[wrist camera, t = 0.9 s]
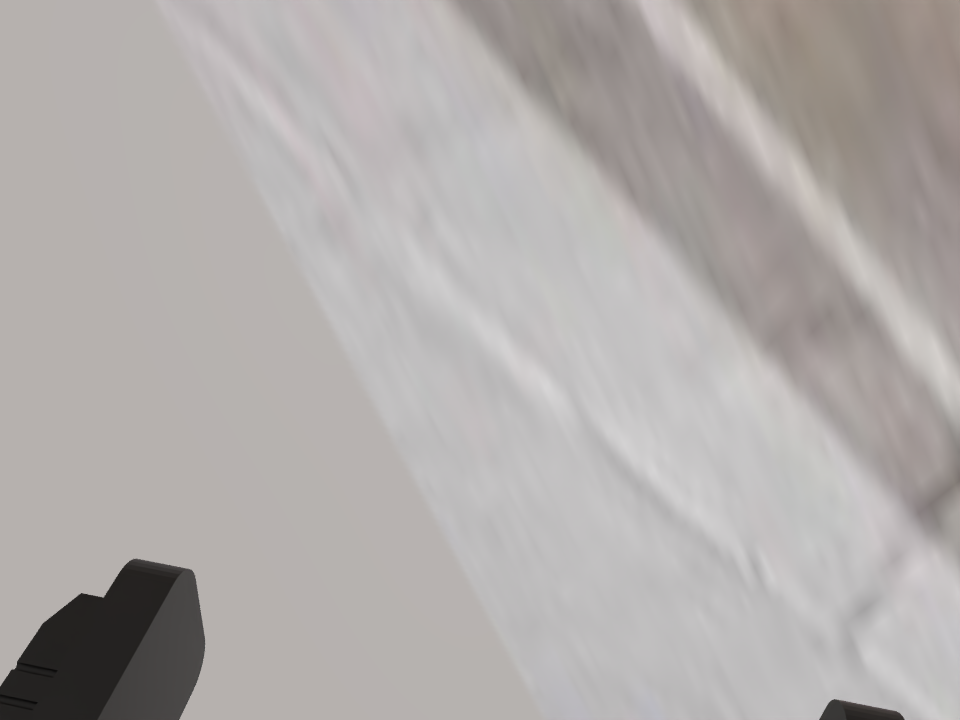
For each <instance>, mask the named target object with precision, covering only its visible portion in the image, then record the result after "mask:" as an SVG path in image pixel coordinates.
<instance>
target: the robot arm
mask: <svg viewBox="0 0 960 720" xmlns="http://www.w3.org/2000/svg"><path fill="white" fill-rule="evenodd" d="M204 651H205V636H204V630H203V624H202V618H201V612H200V605H199V598H198V591H197V585H196V579H195V575H194V573H193V571H192V570H190V569H185V568H181V567H176V566H171V565H165V564H160V563H155V562H150V561H145V560H140V559H133V560H131V561H129V562H128V563H127V564H126V565H125V566H124V568H122V570H121V571H120V573H119V574H118V576H117V577H116V579H115V581H114V582H113V584H112V585H111V587H110V589H109V590H108V592H107V593H106V595H105V597H104V598H102V597H98V596H93V595H88V594H83V593H81V594H80V595H78V596H77V597H76V598H75V599H73V600H72V601H71V602H69V603H68V604H67V605H66V606H64V607H63V608H62V609H61V610H59V611H58V612H57V613H56V614H54V615H53V616H52V617H51V618H49V619H48V620H47V621H46V622H44V623H43V624H42V626H41V627H40V629H39V630H38V632H37V633H36V635H35V636H34V638H33V639H32V641H31V642H30V643H29V645H28V647H27V648H26V649H25V651H24V652H23V654H22V655H21V657H20V658H19V660H18V661H17V666H16V668H15V669H14V670H11V671H10V673H9V675H8V676H7V677H6V679H5V680H4V682H3V683H2V685H1V686H0V720H179V719H180V717H181V715H182V713H183V711H184V708H185V706H186V704H187V702H188V700H189V698H190V696H191V694H192V692H193V690H194V687H195V685H196V683H197V680H198V677H199V674H200V671H201V667H202V663H203V658H204ZM819 720H904V718H903V716H902V715H901V714H900V713H899V712H897V711H892V710H887V709H882V708H877V707H872V706H866V705H861V704H856V703H851V702H846V701H841V700H835V699H834V700H831V701H830V702H829V704H828V705H827V707H826V709H825V710H824V712H823V714H822V716H821V718H820V719H819Z"/></svg>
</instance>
